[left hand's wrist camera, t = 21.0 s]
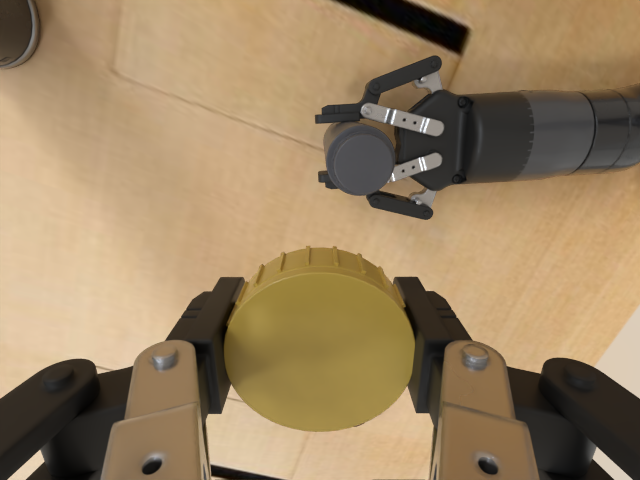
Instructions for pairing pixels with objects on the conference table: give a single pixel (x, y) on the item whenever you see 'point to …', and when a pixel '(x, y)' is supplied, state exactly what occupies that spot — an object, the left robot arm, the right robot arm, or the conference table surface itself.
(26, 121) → the conference table surface
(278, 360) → the lid
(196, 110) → the conference table surface
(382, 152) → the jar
